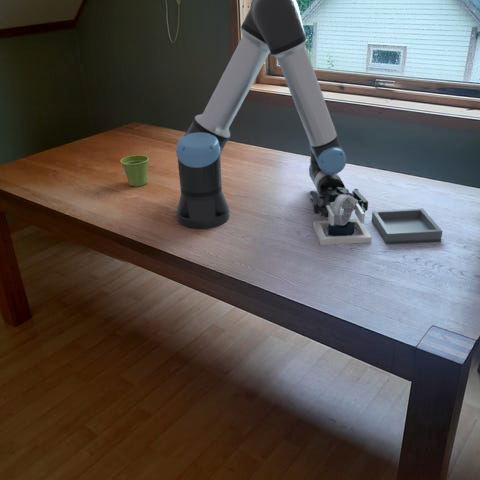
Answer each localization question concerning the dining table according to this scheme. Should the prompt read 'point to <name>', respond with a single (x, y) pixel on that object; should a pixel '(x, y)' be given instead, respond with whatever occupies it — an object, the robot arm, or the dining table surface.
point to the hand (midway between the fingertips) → (347, 219)
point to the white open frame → (324, 240)
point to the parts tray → (406, 226)
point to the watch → (342, 223)
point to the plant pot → (136, 169)
